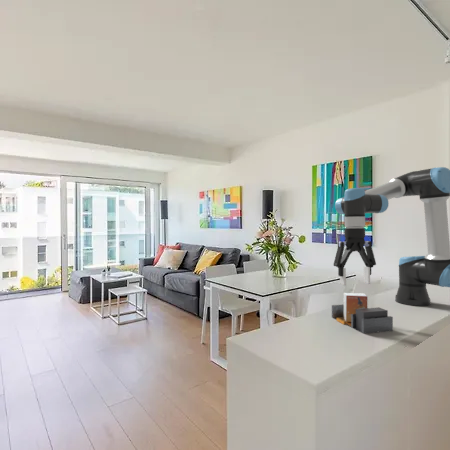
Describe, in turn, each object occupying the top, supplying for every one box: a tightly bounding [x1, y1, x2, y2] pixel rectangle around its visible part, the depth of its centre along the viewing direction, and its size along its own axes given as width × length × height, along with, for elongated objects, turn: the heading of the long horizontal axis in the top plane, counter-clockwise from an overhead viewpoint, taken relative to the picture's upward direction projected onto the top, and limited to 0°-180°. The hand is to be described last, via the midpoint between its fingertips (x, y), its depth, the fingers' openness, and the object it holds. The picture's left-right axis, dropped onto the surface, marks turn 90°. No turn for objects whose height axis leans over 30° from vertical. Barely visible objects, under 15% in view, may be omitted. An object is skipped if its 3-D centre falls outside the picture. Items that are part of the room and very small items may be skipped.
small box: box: [343, 292, 368, 322], centre depth 125 cm, size 8×6×10 cm
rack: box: [331, 303, 394, 334], centre depth 122 cm, size 13×20×6 cm, turn 13°
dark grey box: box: [356, 307, 389, 331], centre depth 116 cm, size 10×4×7 cm, turn 103°
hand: (355, 284), depth 125 cm, fingers open, 10 cm apart
